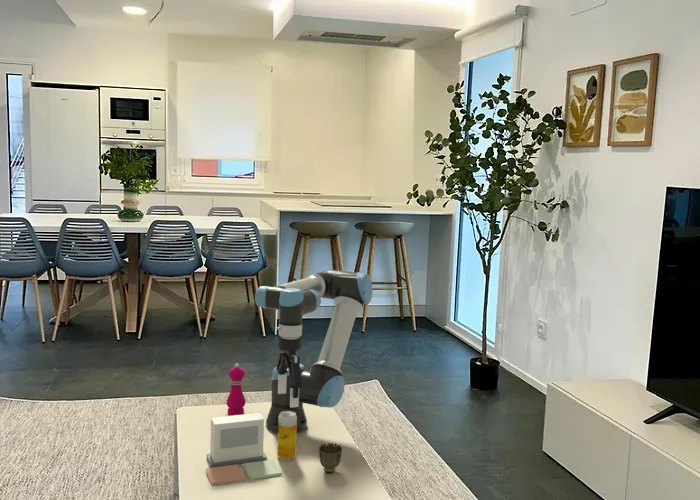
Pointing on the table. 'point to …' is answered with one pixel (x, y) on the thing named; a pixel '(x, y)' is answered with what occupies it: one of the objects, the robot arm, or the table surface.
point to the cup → (330, 456)
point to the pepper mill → (236, 391)
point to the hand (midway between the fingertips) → (287, 400)
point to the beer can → (287, 435)
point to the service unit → (236, 440)
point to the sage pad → (262, 469)
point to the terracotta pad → (224, 474)
